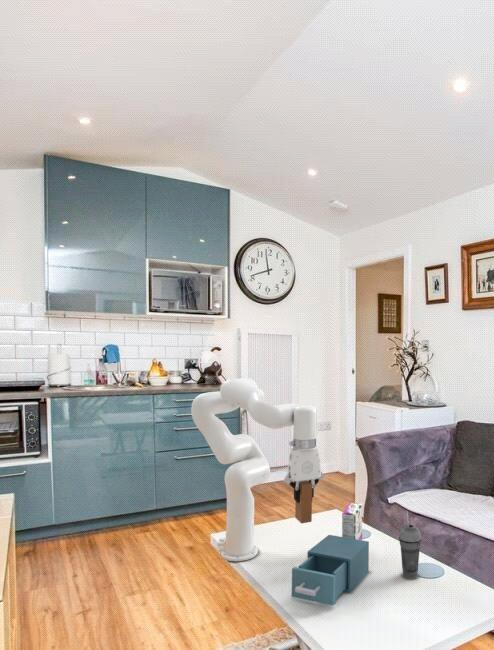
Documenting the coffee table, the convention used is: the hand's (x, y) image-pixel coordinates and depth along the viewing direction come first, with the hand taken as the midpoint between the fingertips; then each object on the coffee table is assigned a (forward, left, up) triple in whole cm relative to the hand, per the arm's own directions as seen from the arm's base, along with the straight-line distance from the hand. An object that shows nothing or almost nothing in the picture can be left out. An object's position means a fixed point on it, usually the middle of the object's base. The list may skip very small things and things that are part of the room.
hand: (303, 500), depth 160 cm
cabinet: (+13, +1, -23) cm, 26 cm away
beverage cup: (+33, +11, -23) cm, 42 cm away
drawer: (+13, -12, -22) cm, 28 cm away
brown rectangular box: (0, 0, -6) cm, 6 cm away
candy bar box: (+10, +17, -23) cm, 30 cm away
